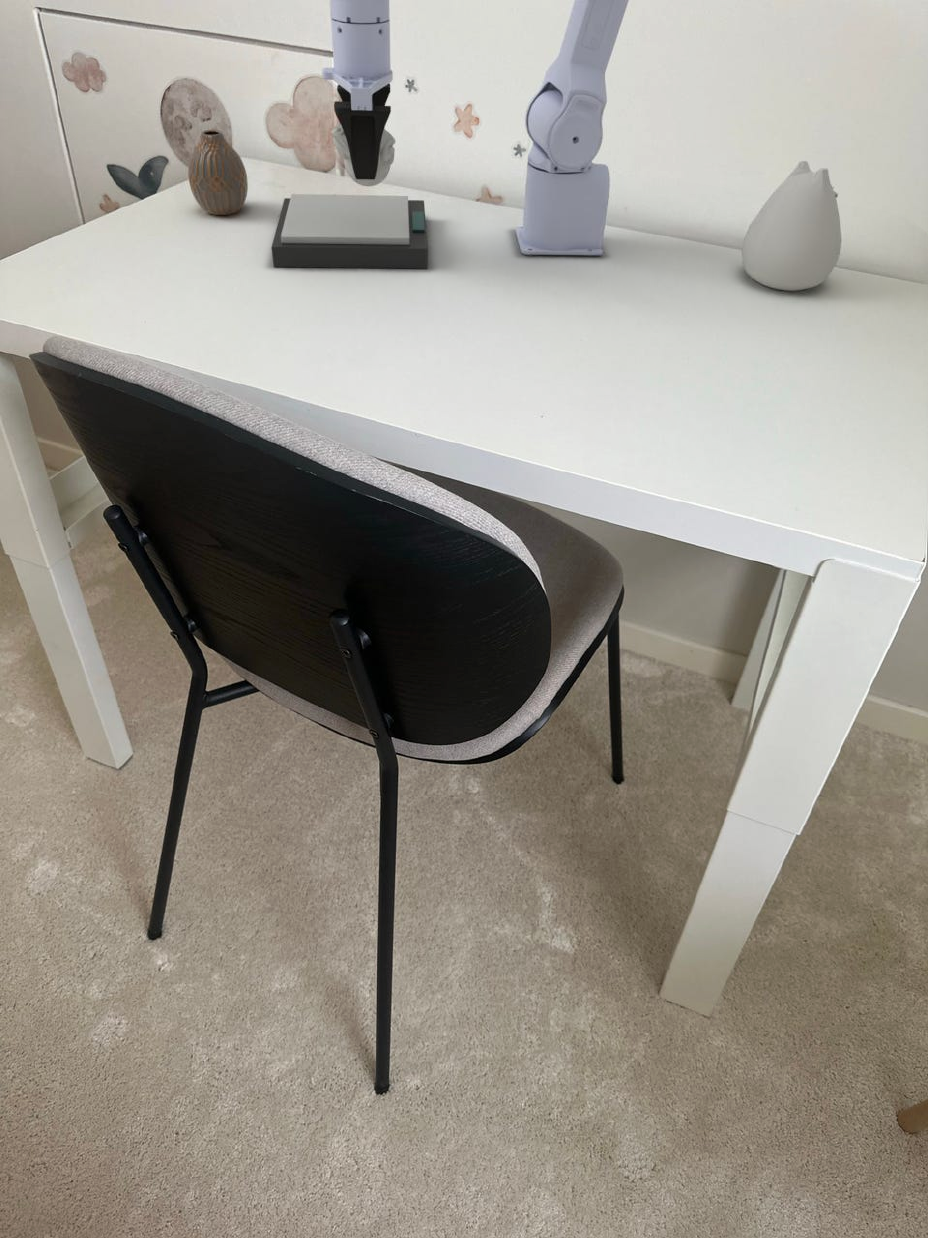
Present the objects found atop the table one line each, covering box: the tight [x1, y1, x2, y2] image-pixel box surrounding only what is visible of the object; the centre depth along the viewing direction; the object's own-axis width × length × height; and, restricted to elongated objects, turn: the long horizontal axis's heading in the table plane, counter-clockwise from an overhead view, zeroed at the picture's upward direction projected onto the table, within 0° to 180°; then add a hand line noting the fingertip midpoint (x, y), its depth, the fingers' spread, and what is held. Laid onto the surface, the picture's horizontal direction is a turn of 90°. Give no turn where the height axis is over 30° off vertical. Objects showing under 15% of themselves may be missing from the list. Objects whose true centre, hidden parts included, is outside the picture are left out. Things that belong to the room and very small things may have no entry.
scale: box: [271, 193, 429, 270], centre depth 103 cm, size 17×16×3 cm
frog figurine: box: [330, 123, 396, 187], centre depth 95 cm, size 6×7×7 cm
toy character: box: [741, 160, 842, 292], centre depth 96 cm, size 10×10×12 cm
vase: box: [188, 129, 249, 216], centre depth 108 cm, size 7×7×9 cm
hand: (365, 168), depth 96 cm, fingers closed on frog figurine, 6 cm apart
